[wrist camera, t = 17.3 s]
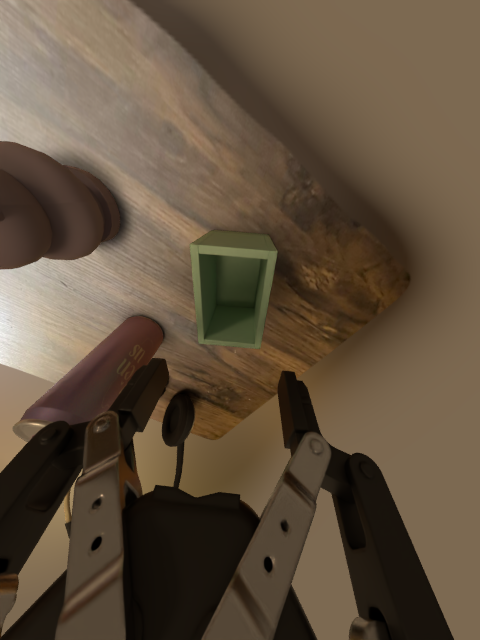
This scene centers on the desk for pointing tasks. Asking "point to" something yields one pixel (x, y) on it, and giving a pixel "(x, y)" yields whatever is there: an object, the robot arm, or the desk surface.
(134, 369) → the beverage can
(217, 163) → the desk surface
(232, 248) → the green open-top box
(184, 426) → the headphones
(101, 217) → the cat figurine
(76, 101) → the desk surface
